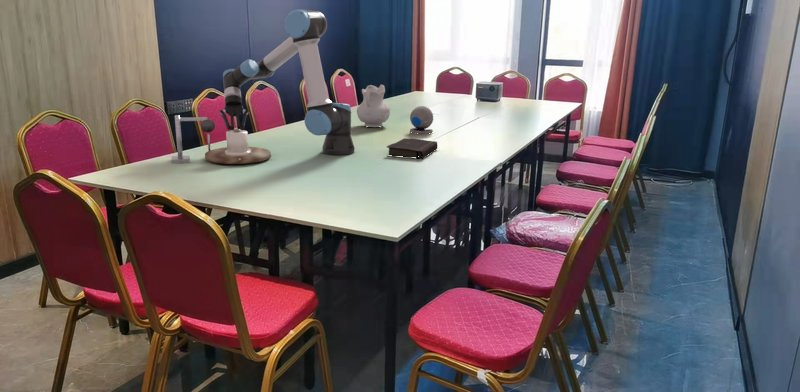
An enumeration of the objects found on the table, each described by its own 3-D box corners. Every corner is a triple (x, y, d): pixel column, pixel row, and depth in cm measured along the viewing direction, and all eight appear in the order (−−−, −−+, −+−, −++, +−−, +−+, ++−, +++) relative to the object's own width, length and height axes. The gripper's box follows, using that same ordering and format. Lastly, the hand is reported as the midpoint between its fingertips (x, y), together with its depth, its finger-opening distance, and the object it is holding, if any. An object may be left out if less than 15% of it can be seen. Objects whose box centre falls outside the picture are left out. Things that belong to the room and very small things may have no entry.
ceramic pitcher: (387, 132, 341) (391, 88, 334) (353, 128, 341) (357, 84, 334) (388, 126, 362) (392, 84, 355) (356, 122, 362) (360, 81, 355)
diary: (437, 151, 293) (438, 141, 292) (422, 161, 271) (423, 150, 269) (401, 147, 299) (402, 137, 298) (384, 156, 276) (384, 146, 275)
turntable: (267, 148, 280) (267, 145, 279) (274, 162, 254) (273, 158, 254) (205, 151, 271) (204, 147, 271) (205, 165, 246) (204, 161, 245)
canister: (250, 151, 267) (249, 127, 264) (251, 156, 257) (250, 131, 254) (225, 151, 264) (223, 127, 261) (224, 157, 254) (223, 132, 251)
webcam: (436, 132, 339) (437, 106, 334) (425, 135, 328) (426, 108, 324) (417, 129, 345) (417, 103, 341) (405, 132, 335) (406, 106, 331)
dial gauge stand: (216, 157, 264) (213, 113, 258) (216, 161, 257) (214, 116, 252) (172, 159, 258) (168, 114, 253) (171, 163, 252) (167, 117, 246)
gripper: (247, 103, 282) (251, 145, 271) (218, 104, 278) (221, 146, 268) (247, 93, 276) (252, 136, 265) (218, 94, 272) (221, 137, 261)
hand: (236, 141), depth 266 cm, fingers closed
